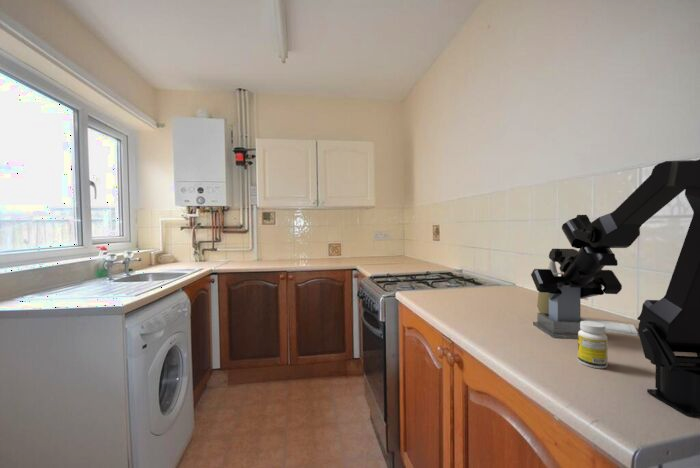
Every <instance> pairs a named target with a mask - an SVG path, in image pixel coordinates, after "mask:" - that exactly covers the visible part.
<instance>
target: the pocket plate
mask: <svg viewBox="0 0 700 468" xmlns="http://www.w3.org/2000/svg"><path fill="white" fill-rule="evenodd" d="M581 317H582V316H580V322H581V321H588V320H586V319H584V318H585V317H582V318H581ZM536 320H537V321H532V325H533V326H535V327H536V328H538V330H540V331H542V332H543V333H544V334H546V335H548V336H549V337H551V338H554V339H577V340H578V332H579V331H580V330H581V329H580V322H575V321H555V320H553V319H552V318H550V317H549V313H540V312H537V319H536Z"/></svg>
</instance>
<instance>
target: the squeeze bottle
mask: <svg viewBox="0 0 700 468" xmlns="http://www.w3.org/2000/svg"><path fill="white" fill-rule="evenodd" d="M547 269H550V270H551V271H552V273H553V275H554V276H558V274H562V272H561V273H560V272H558V269H557V264H556V262H553V261H552V260H550V261H549V264H548V268H547ZM536 305H537V309H538V313H549V294H548V292H539V291H538V296H537V304H536Z"/></svg>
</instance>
